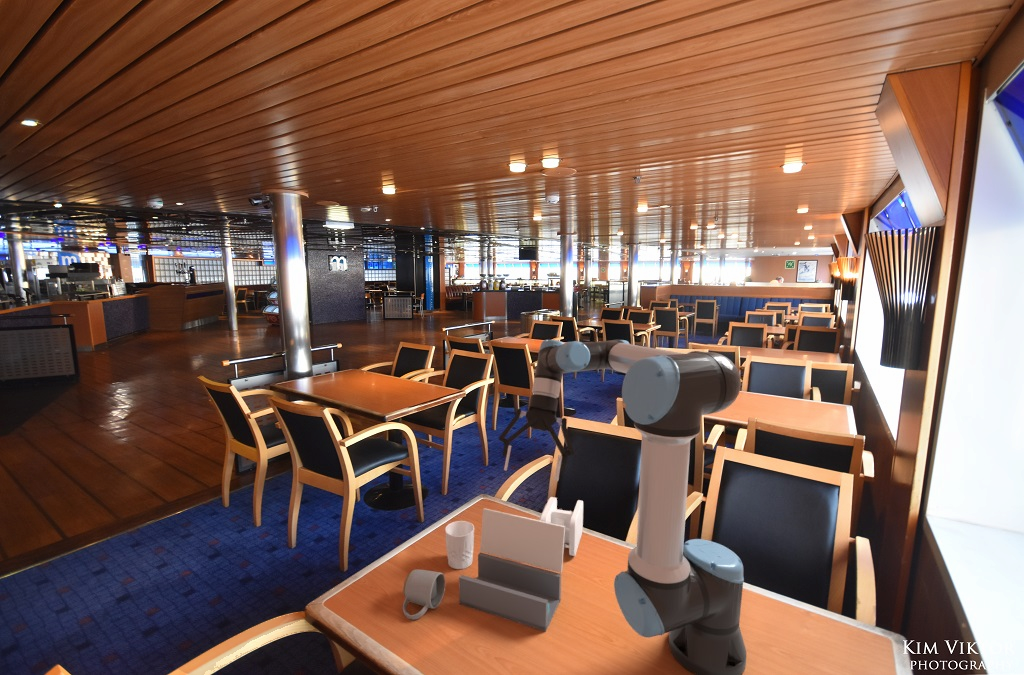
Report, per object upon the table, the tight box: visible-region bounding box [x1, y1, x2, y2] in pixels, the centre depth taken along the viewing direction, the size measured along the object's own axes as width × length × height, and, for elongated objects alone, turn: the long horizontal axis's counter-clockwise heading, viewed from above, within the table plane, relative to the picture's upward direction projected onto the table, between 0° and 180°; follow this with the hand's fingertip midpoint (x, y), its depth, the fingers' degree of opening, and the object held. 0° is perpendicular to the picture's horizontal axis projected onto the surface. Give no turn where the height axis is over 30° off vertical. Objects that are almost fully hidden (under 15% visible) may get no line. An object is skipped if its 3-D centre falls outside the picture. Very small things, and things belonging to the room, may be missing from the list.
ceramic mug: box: [402, 569, 446, 620], centre depth 113 cm, size 11×8×8 cm
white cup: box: [444, 520, 475, 570], centre depth 130 cm, size 8×8×10 cm
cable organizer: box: [538, 496, 584, 557], centre depth 138 cm, size 15×11×12 cm
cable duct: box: [458, 551, 562, 632], centre depth 114 cm, size 22×11×7 cm, turn 67°
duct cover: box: [479, 507, 565, 574], centre depth 119 cm, size 22×11×1 cm
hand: (530, 475), depth 124 cm, fingers open, 13 cm apart
